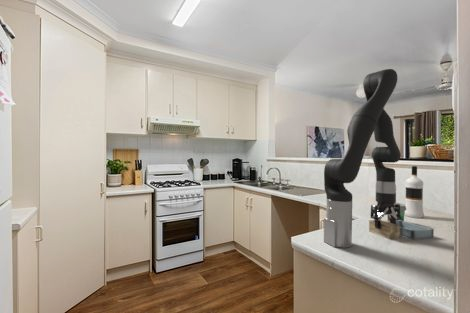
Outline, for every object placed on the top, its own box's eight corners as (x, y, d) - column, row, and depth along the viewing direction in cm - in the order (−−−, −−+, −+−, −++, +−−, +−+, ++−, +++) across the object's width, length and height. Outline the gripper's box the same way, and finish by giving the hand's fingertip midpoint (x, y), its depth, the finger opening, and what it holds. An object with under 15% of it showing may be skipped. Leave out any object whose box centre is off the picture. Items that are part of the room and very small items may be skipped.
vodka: (411, 218, 129) (412, 166, 129) (400, 214, 138) (401, 165, 138) (428, 218, 128) (428, 166, 129) (415, 214, 138) (416, 166, 138)
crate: (413, 239, 93) (413, 230, 93) (381, 229, 107) (382, 221, 107) (433, 237, 97) (433, 228, 97) (400, 227, 111) (400, 219, 111)
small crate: (389, 239, 94) (389, 226, 94) (368, 231, 104) (369, 220, 104) (400, 237, 96) (400, 225, 96) (379, 230, 105) (379, 219, 105)
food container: (411, 227, 111) (411, 207, 111) (397, 226, 112) (397, 206, 112) (398, 220, 123) (399, 202, 123) (386, 219, 124) (386, 201, 125)
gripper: (380, 193, 94) (380, 232, 94) (406, 192, 98) (406, 229, 98) (365, 190, 101) (365, 226, 101) (390, 189, 105) (390, 224, 105)
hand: (385, 227), depth 99 cm, fingers open, 8 cm apart
